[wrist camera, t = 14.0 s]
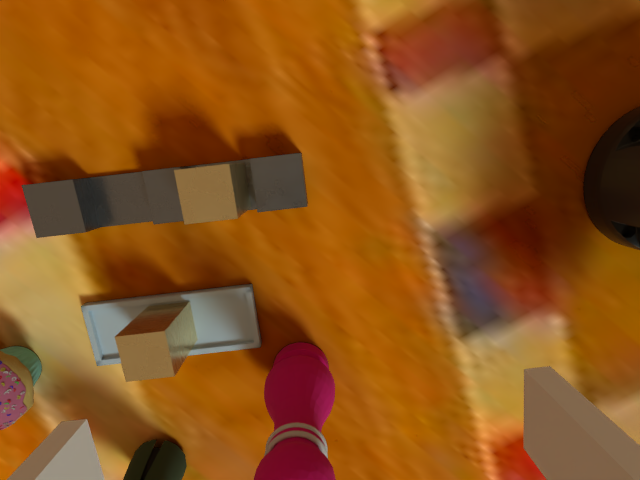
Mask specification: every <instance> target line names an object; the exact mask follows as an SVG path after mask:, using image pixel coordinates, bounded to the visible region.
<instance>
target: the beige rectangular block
mask: <svg viewBox="0 0 640 480" xmlns="http://www.w3.org/2000/svg"><path fill="white" fill-rule="evenodd" d="M197 340H198V339H197V334H196V329H195V324H194V319H193V314H192V309H191V304H190V301H189V302H180V303H171V304H162V305H154V306H148V307H147V308H146V309H145V310H143V311H142V312H141V313H140V314H139V315H138V316H137V317H136V318H135V319H134V320H132V321H131V322H130V323H129V324H128V325H127V326H126V327H125V328H124V329H123V330H121V331H120V332H119V333H118V334H117V335H116V336H115V341H116V345H117V348H118V352H119V356H120V360H121V364H122V368H123V372H124V376H125V380H126V382H128V381H137V380H146V379H154V378H163V377H172V376H175V375H176V373H177V372H178V370H179V369H180V367H181V365H182V364H183V362H184V361H185V359H186V357H187V356H188V354H189V353H190V351H191V349H192V348H193V346H194V345H195V343H196V341H197Z"/></svg>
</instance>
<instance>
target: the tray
mask: <svg viewBox="0 0 640 480" xmlns="http://www.w3.org/2000/svg"><path fill="white" fill-rule="evenodd" d="M189 301H190V304H191V309H192V314H193V319H194V324H195V329H196V334H197V339H198V340H197V341H196V343H195V345H194V346H193V348H192V349H191V351H190V353H189V354H188V355H197V354H206V353H215V352H224V351H232V350H241V349H250V348H259V347H261V343H262V342H261V336H260V330H259V324H258V318H257V311H256V305H255V299H254V293H253V287H252V284H246V285H237V286H228V287H220V288H211V289H202V290H193V291H185V292H176V293H167V294H159V295H150V296H141V297H133V298H124V299H115V300H106V301H98V302H89V303H85V304H84V305H82V306H81V308H82V312H83V316H84V320H85V323H86V327H87V331H88V334H89V338H90V342H91V345H92V349H93V353H94V356H95V360H96V364H97V366H101V365H110V364H118V363H121V360H120V356H119V352H118V348H117V345H116V341H115V336H116V335H117V334H118V333H119V332H120V331H121V330H123V329H124V328H125V327H126V326H127V325H128V324H129V323H130V322H131V321H132V320H134V319H135V318H136V317H137V316H138V315H139V314H140V313H141V312H142V311H143V310H145V309H146V308H147V307H148V306H154V305H162V304H171V303H180V302H189Z"/></svg>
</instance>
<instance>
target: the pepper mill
mask: <svg viewBox="0 0 640 480" xmlns="http://www.w3.org/2000/svg"><path fill="white" fill-rule="evenodd" d="M334 397H335V384H334V379H333V377H332V374H331V373H330V371H329V366H328V361H327V358H326V356H325V354H324V353H323V352H322V351H321V350H320V349H319V348H318V347H316V346H314V345H312V344H309V343H302V342H298V343H293V344H290V345H288V346H286V347H284V348H283V349H282V350H281V351H280V352H279V353H278V354H277V356H276V358H275V360H274V365H273V368H272V369H271V371H270V372H269V374H268V376H267V378H266V382H265V389H264V399H265V403H266V407H267V410H268V412H269V415H270V416H271V418H272V420H273V422H274V424H275V425H274V432H273V433H272V434H271V435H270V437H269V438H268V441H267V444H266V451H265V456H264V458H263V459H262V460H261V462H260V464H259V466H258V468H257V470H256V473H255V477H254V480H335V475H334V471H333V467H332V465H331V464H330V462H329V460H328V454H327V443H326V440H325V438H324V436H323V435H322V434H321V429H322V426H323V424H324V422H325V420H326V419H327V417H328V415H329V414H330V412H331V409H332V406H333V402H334Z"/></svg>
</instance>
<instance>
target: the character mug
mask: <svg viewBox="0 0 640 480" xmlns="http://www.w3.org/2000/svg"><path fill="white" fill-rule="evenodd" d="M156 441H157V440H151V441H148V442H146V443H143V444H142V445H141V446H140V447H139V448H138V449H137V450H136V452H135V454H134V456H133V458H132V460H131V462H130V464H129V466H128V469H127V471H126V474H125V476H124V479H123V480H181V479H182V478H183V476H184V472H185V469H186V459H185V454H184V453H183V452H182V450H181V449H180V448H179V447H178V446H177V445H175V444H173V443H171V442H169V441H164V442H163V444H162V446H161V448H160V449H159V448H155V449H153V447H154V445H155V443H156Z"/></svg>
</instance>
